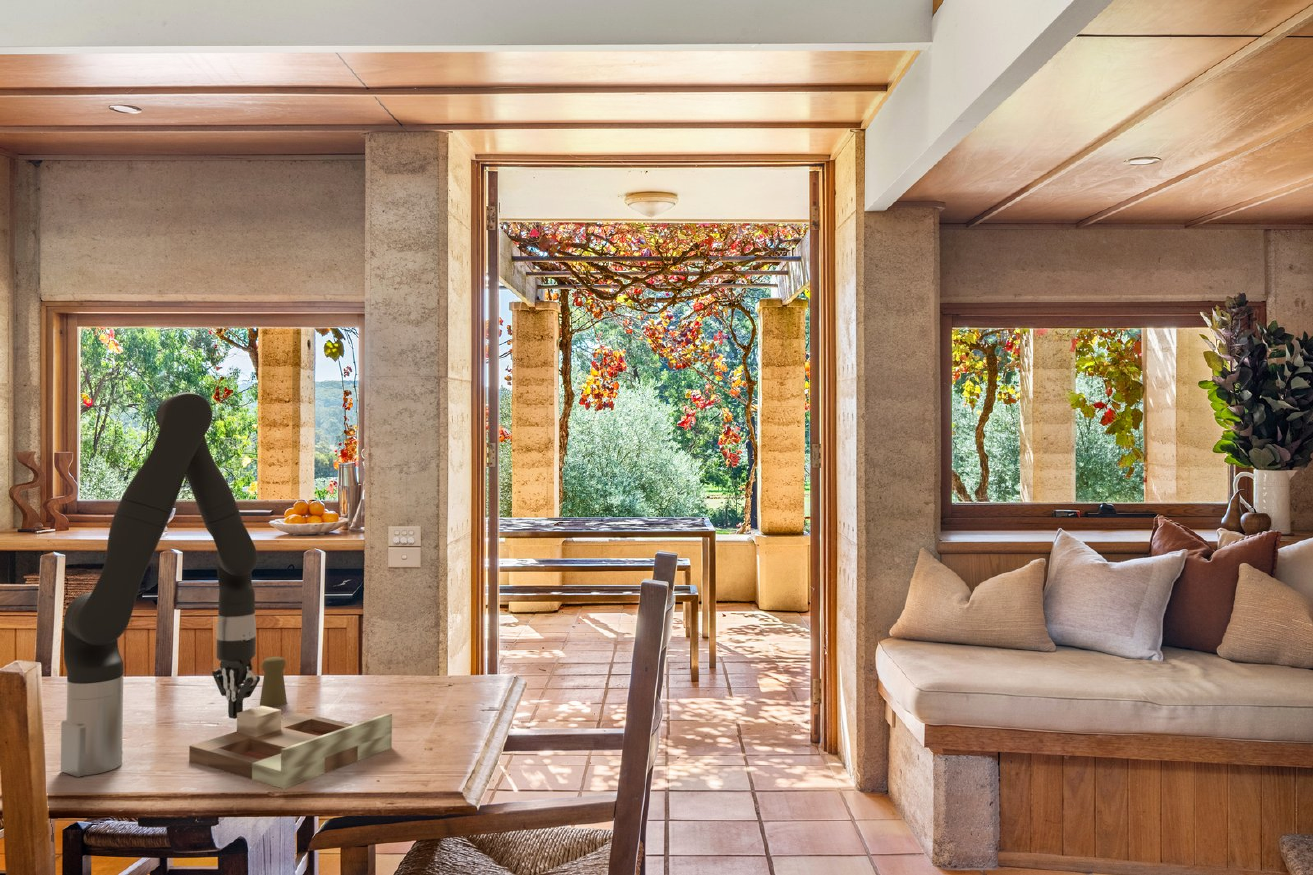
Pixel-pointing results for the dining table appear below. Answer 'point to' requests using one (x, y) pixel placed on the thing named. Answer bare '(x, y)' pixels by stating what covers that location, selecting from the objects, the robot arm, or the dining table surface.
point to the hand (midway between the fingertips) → (235, 717)
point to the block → (258, 721)
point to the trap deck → (295, 748)
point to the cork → (273, 682)
